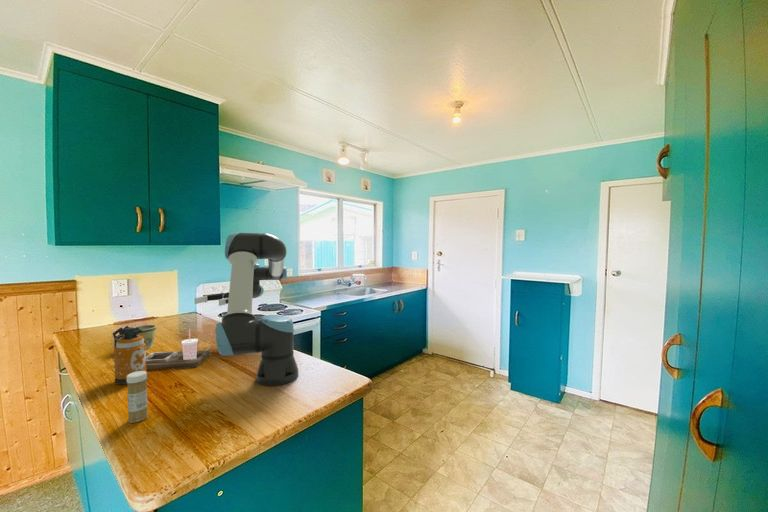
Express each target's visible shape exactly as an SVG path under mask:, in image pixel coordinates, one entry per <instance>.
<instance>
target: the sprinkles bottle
mask: <svg viewBox="0 0 768 512" xmlns="http://www.w3.org/2000/svg"><path fill="white" fill-rule="evenodd" d="M147 379H148V373H147V370H146V371H137V372H133V373H130V374H128V375H127V384H126V385H127V411H128V413H127V414H128V419H127V421H128V423H129V424H134V423H135V424H136V423H140V422H142V421H144V420H145V419H147V418H148V416H149V415H148V389H147Z"/></svg>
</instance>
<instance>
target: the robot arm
mask: <svg viewBox="0 0 768 512" xmlns="http://www.w3.org/2000/svg"><path fill="white" fill-rule="evenodd" d="M224 247H225V248H224V257H225V258H226V260H228V262H229V265H231V269H230V270H231V272H230V282H229V289H228V290H229V291H228V292H220V293H212V294H204V295H202V296H199V297H194V305H197V304H202V303H207V302H208V301H209V302H210V301H218V306H225V305H227V311H226V314H225V315H223V317H222V319H221V322H219V323H216V325H215V342H216V348H217V351H218V353H219V355H221V356H233V357H234V356H237V355H245V354H257V353H261V356H260V357H261V358H260V359H261V360H260V361H259V362H260V363H259V365H258V369H257V371H256V377H255V379H256V382H257V383H258V384H259V385H262V386H267V387H268V386H269V387H270V386H279V385H281V386H282V385H285V384H288V383H291V382H294V380H295V381H296V379H297V378H298V377H299V367H298V364H297V361H296V358H295V356H294V355H295V354H294V332H295V329H294V321H293V319H292V318H291V317H288V316H285V315H280V314H269V315H263V316H261V317H260V320H256V316H255V314H253V313H252V312H253V311H252V310H253V299H257V298H259V297H262V295H263V294H264V292H265V291H264V287H263V285H261V284H260V281H283V280H286V279H287V278H288V271H287V270H288V268H287V267H286V266H284V262H285V258H286V257H287V247H286V244H285V243H284V242H283V241H282V240H281V239H280V238H279V237H277V236H276V235H274V234H271V233H263V232H260V233H259V232H240V231H239V232H231V233H230V234H228V236H227V237H226V240H225V246H224ZM258 260H268V261H267V262H268V264H267V265H268V266H260V264H259V263H258Z"/></svg>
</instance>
